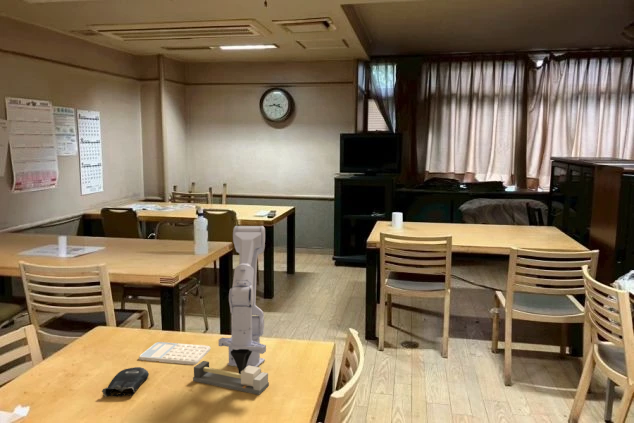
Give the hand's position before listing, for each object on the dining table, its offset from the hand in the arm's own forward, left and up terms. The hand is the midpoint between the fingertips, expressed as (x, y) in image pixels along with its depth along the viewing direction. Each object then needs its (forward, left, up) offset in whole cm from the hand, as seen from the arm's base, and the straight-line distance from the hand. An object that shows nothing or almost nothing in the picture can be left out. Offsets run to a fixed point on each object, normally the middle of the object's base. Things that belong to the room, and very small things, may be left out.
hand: (242, 372), depth 148 cm
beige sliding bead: (+3, 0, -2) cm, 4 cm away
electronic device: (-31, -12, -4) cm, 33 cm away
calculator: (-32, +11, -5) cm, 34 cm away
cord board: (-4, 0, -4) cm, 6 cm away
